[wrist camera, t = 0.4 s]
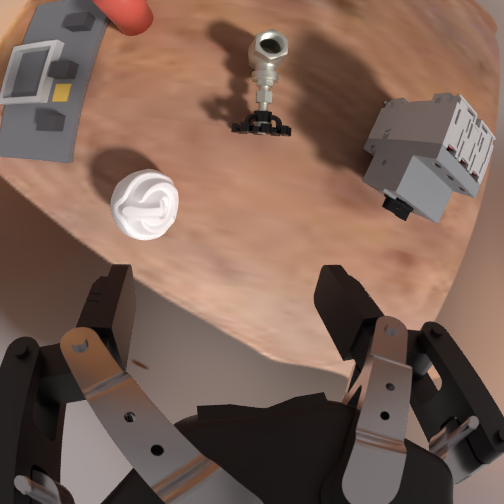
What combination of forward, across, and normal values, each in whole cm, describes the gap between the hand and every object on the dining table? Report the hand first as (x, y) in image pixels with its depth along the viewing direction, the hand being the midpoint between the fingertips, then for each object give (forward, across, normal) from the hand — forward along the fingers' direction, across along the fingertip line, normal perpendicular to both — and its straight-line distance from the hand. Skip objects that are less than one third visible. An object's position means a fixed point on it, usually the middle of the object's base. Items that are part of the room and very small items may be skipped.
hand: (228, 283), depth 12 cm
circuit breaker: (+24, -24, -3) cm, 34 cm away
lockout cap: (+29, +11, -18) cm, 36 cm away
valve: (+26, -6, -9) cm, 28 cm away
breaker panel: (+29, +23, -12) cm, 39 cm away
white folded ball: (+25, +7, +5) cm, 26 cm away
